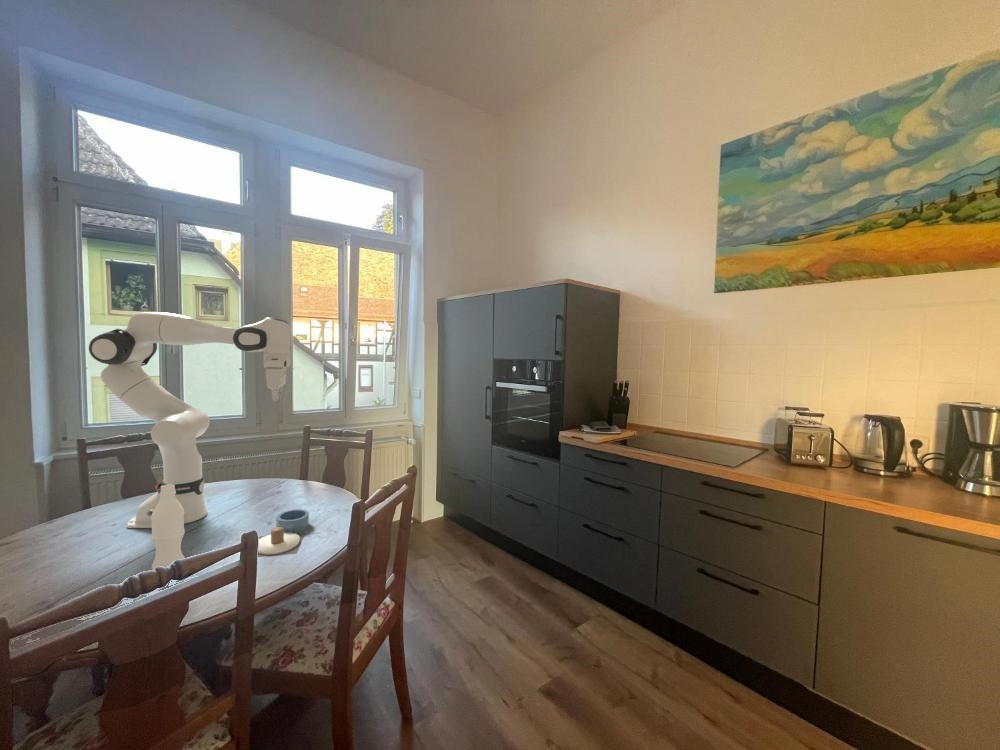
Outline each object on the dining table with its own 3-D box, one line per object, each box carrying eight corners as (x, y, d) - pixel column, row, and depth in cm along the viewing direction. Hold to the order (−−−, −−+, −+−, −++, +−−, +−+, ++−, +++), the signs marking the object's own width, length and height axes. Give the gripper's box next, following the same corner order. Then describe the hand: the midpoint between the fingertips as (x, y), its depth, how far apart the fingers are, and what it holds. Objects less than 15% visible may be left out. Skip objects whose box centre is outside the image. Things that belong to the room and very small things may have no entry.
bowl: (273, 536, 136) (273, 522, 136) (280, 523, 146) (280, 510, 145) (305, 533, 139) (305, 519, 138) (310, 521, 148) (310, 508, 148)
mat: (245, 559, 121) (245, 557, 121) (259, 538, 134) (259, 536, 134) (296, 555, 125) (296, 553, 125) (305, 534, 138) (305, 532, 138)
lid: (247, 556, 121) (247, 540, 121) (260, 537, 134) (260, 522, 134) (295, 552, 125) (295, 537, 125) (303, 533, 138) (303, 519, 137)
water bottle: (183, 563, 118) (182, 479, 116) (186, 573, 113) (185, 486, 111) (150, 571, 113) (149, 485, 111) (152, 583, 108) (151, 492, 106)
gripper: (272, 360, 158) (272, 395, 158) (262, 362, 139) (262, 402, 139) (290, 360, 160) (289, 395, 161) (283, 363, 141) (283, 402, 142)
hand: (277, 398), depth 150 cm, fingers open, 8 cm apart
